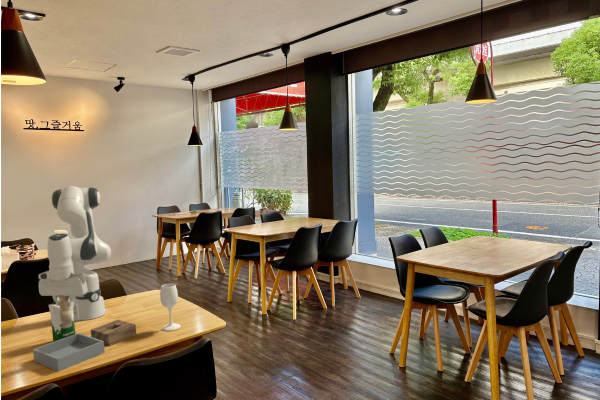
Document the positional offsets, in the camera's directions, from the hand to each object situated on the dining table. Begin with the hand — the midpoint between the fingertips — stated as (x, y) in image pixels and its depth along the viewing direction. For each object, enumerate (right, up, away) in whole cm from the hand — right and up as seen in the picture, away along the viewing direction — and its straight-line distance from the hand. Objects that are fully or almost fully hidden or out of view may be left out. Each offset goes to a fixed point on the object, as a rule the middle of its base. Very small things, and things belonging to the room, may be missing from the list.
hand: (64, 305), depth 185 cm
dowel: (0, -9, +1) cm, 9 cm away
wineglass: (+36, -18, +30) cm, 50 cm away
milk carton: (-10, -21, +19) cm, 30 cm away
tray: (+1, -22, +2) cm, 22 cm away
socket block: (+12, -20, +21) cm, 31 cm away
